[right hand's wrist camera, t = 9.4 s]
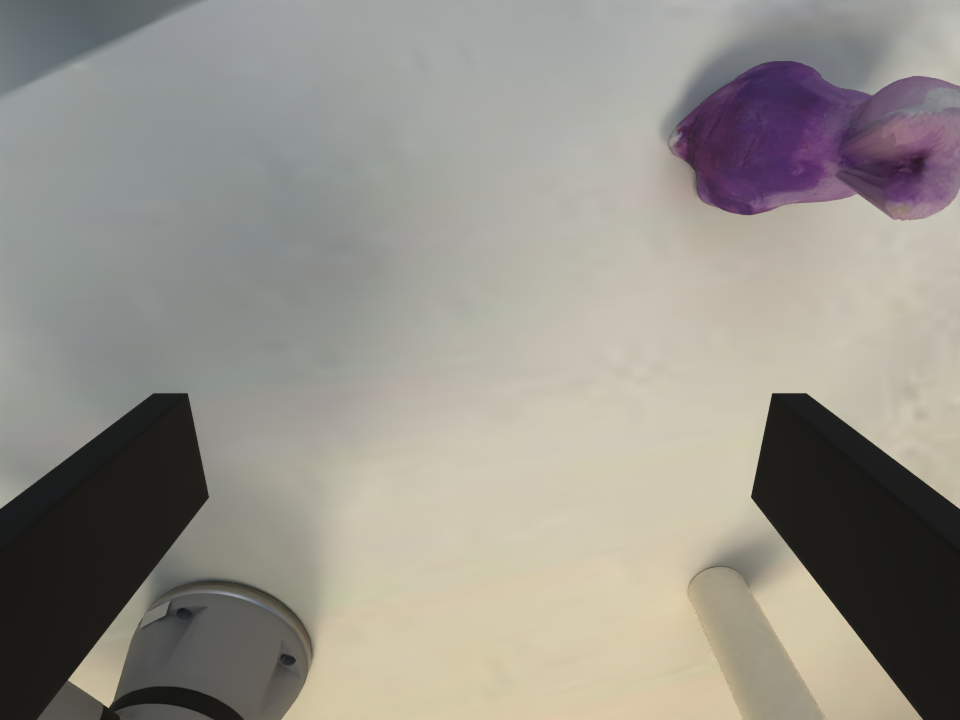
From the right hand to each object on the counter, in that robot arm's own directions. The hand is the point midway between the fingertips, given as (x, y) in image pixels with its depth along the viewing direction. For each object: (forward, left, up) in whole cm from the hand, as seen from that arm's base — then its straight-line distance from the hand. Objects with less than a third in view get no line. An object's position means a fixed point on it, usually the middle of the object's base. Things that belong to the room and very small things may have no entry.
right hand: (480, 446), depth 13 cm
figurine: (+15, -11, -27) cm, 32 cm away
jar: (-14, -33, -27) cm, 44 cm away
